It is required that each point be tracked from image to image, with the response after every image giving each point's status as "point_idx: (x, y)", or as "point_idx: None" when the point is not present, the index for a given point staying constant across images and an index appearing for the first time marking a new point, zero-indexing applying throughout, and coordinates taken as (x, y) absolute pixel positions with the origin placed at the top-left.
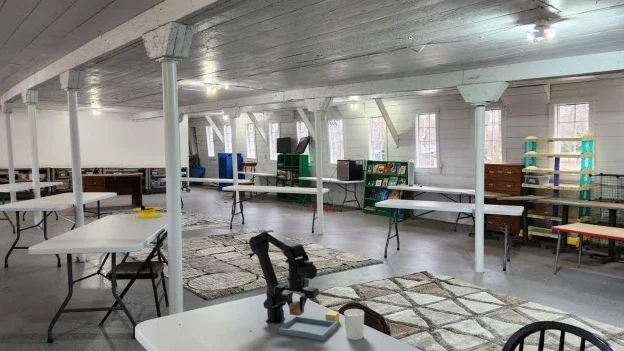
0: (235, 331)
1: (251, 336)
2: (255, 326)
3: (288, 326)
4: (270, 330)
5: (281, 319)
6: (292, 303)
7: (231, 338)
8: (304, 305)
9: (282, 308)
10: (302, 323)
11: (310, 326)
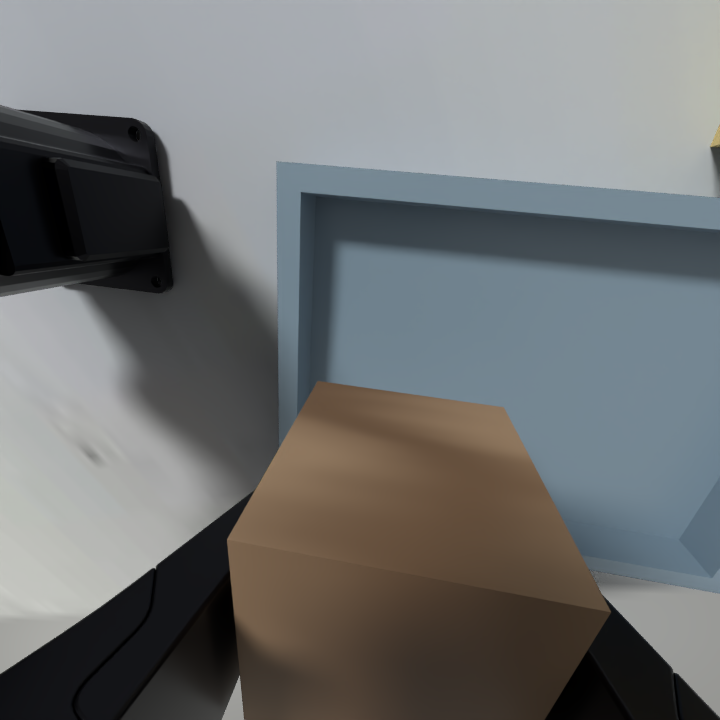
0: (19, 475)
1: (154, 522)
2: (57, 381)
3: (309, 370)
4: (202, 426)
5: (161, 246)
6: (298, 706)
7: (80, 552)
8: (612, 628)
9: (19, 158)
10: (413, 251)
11: (527, 312)
